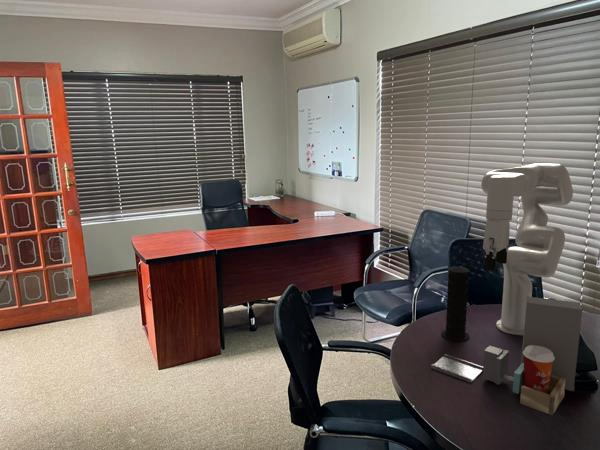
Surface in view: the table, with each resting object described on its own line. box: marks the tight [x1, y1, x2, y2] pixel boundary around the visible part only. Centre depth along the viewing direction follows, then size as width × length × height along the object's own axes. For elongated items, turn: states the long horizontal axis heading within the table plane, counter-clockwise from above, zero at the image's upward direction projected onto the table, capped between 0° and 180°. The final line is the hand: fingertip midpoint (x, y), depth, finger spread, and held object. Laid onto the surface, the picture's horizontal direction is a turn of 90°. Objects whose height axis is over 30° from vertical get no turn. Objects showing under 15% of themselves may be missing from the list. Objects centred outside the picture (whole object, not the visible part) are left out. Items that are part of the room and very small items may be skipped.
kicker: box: [482, 345, 524, 395], centre depth 128 cm, size 7×11×9 cm, turn 46°
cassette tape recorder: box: [520, 296, 583, 392], centre depth 128 cm, size 14×6×25 cm, turn 64°
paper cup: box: [523, 345, 555, 394], centre depth 122 cm, size 8×8×14 cm
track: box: [430, 353, 483, 384], centre depth 138 cm, size 10×13×1 cm
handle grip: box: [440, 266, 471, 343], centre depth 158 cm, size 10×26×10 cm
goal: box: [519, 375, 566, 416], centre depth 121 cm, size 12×8×6 cm
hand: (495, 266), depth 142 cm, fingers open, 9 cm apart
